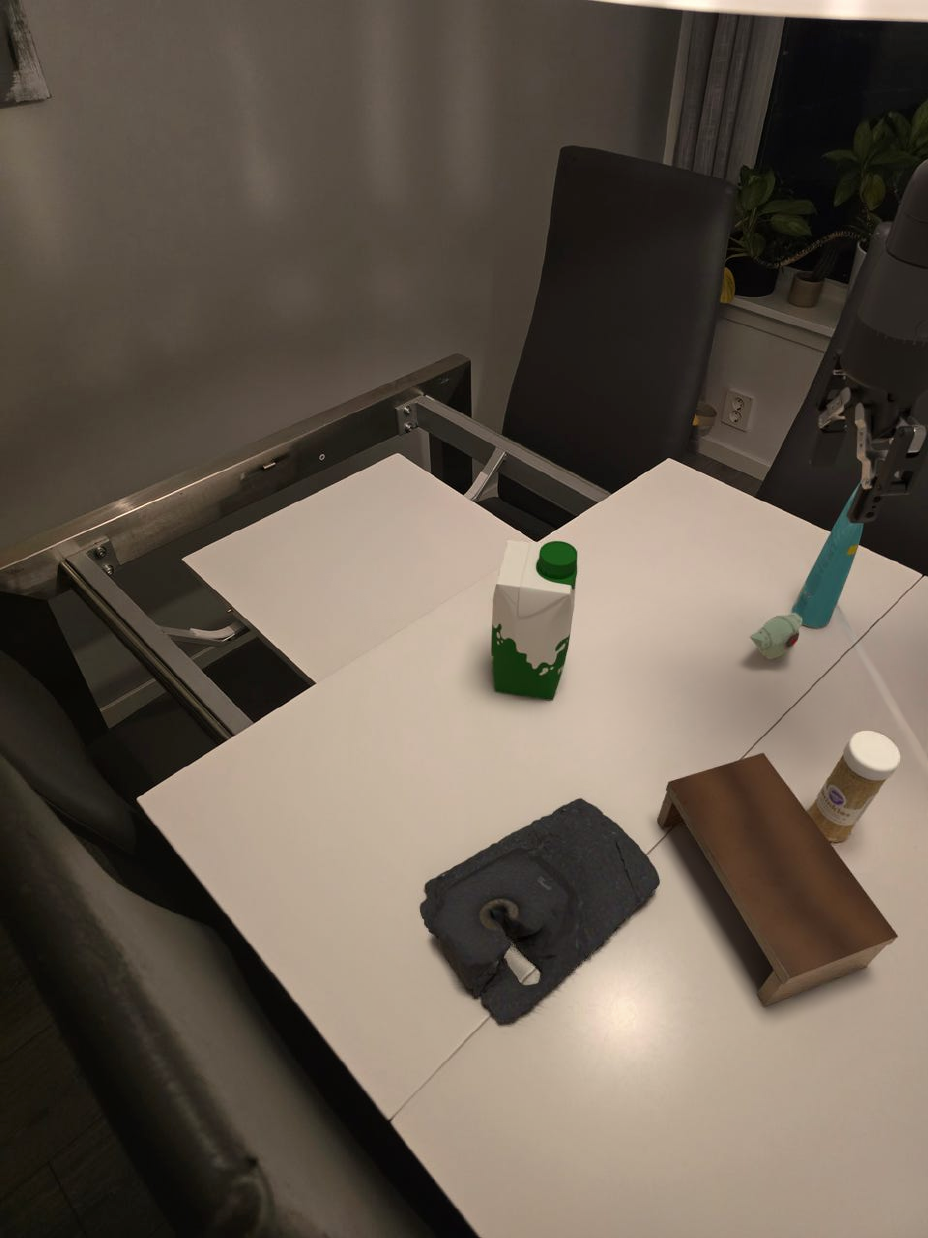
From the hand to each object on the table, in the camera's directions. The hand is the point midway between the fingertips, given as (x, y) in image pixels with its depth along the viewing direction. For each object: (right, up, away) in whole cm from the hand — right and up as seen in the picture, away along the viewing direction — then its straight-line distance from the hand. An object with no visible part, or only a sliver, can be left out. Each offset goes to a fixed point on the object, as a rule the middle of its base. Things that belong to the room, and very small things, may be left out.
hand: (838, 491), depth 70 cm
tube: (+12, -11, +34) cm, 38 cm away
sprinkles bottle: (+4, -33, +12) cm, 35 cm away
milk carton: (-26, -19, +26) cm, 41 cm away
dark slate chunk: (-26, -39, +6) cm, 47 cm away
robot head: (+5, -16, +28) cm, 33 cm away
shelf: (-5, -38, +6) cm, 39 cm away
